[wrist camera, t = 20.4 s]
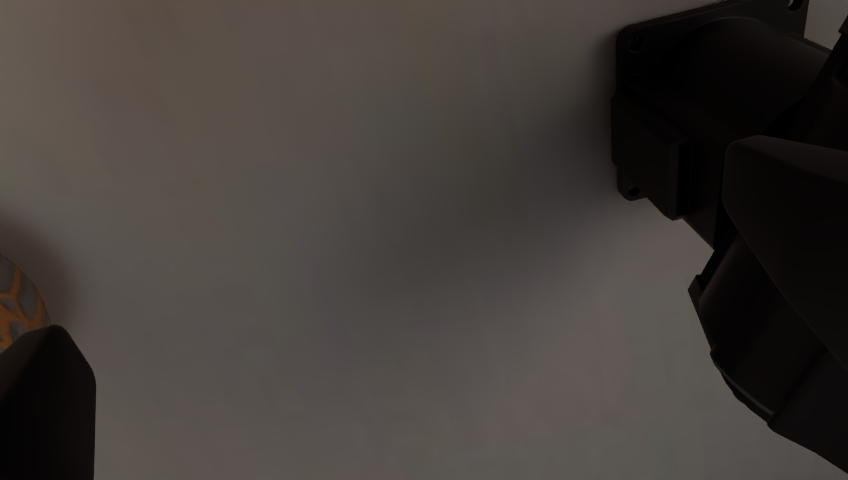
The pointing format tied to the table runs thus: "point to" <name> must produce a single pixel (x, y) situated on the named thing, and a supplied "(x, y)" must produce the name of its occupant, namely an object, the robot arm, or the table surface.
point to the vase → (18, 304)
